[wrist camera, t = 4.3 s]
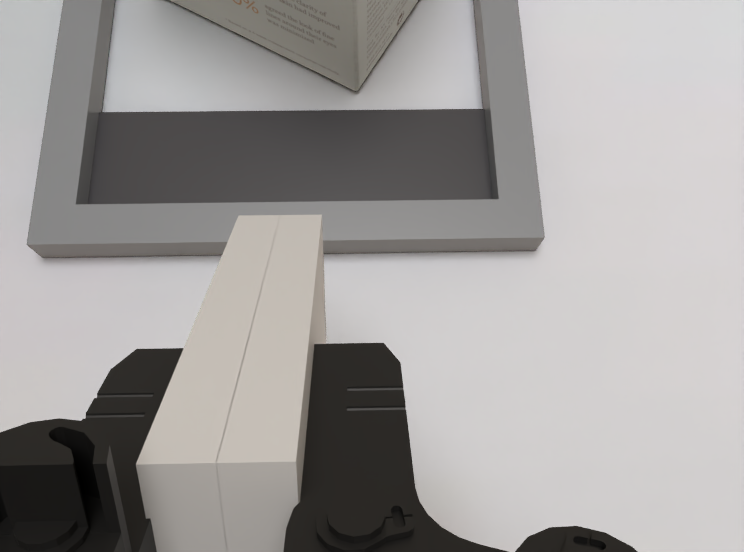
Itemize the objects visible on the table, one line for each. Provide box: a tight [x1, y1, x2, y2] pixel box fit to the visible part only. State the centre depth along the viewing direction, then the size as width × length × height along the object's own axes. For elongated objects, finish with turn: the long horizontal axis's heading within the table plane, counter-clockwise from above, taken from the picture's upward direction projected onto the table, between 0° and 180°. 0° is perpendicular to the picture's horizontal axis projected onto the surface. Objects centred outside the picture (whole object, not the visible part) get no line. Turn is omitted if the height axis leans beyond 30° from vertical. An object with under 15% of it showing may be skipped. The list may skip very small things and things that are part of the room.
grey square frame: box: [27, 0, 545, 257], centre depth 22 cm, size 14×15×1 cm
